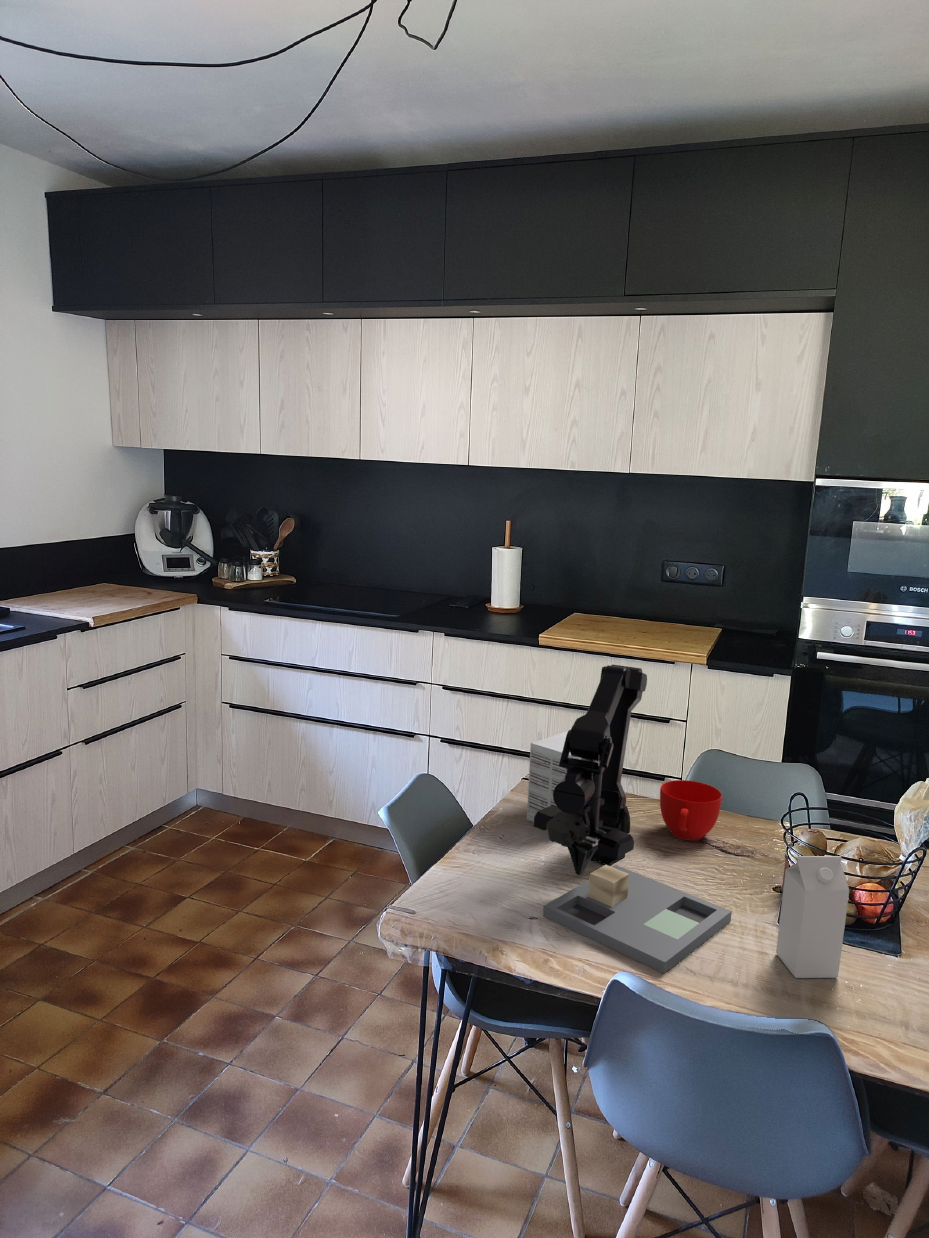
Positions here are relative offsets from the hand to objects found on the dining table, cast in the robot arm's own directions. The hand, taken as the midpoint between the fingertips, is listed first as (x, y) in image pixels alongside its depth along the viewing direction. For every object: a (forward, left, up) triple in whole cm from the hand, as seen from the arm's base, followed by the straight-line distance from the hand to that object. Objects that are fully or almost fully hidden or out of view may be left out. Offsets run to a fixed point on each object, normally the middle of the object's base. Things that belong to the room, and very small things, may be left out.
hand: (579, 874), depth 161 cm
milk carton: (-8, +39, -4) cm, 40 cm away
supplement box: (-28, -22, -4) cm, 36 cm away
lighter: (-32, +29, -4) cm, 44 cm away
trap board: (-1, +12, -4) cm, 13 cm away
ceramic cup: (-38, +1, -4) cm, 38 cm away
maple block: (0, +6, -2) cm, 7 cm away
